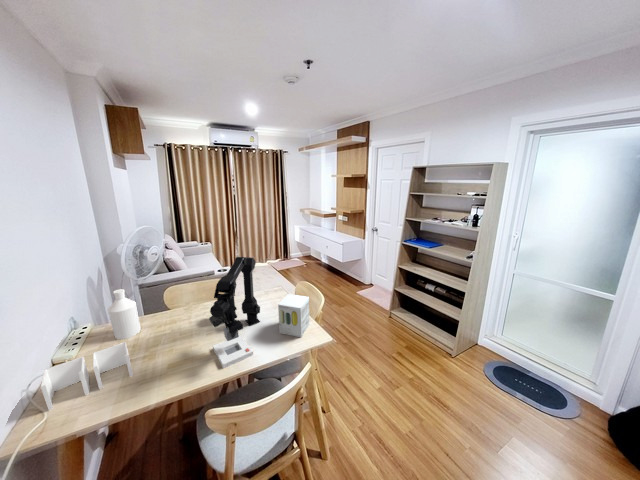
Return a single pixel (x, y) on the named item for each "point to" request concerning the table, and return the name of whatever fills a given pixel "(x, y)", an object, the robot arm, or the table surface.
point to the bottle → (124, 316)
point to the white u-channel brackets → (83, 370)
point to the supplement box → (293, 315)
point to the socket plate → (232, 351)
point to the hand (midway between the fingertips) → (231, 335)
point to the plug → (229, 335)
